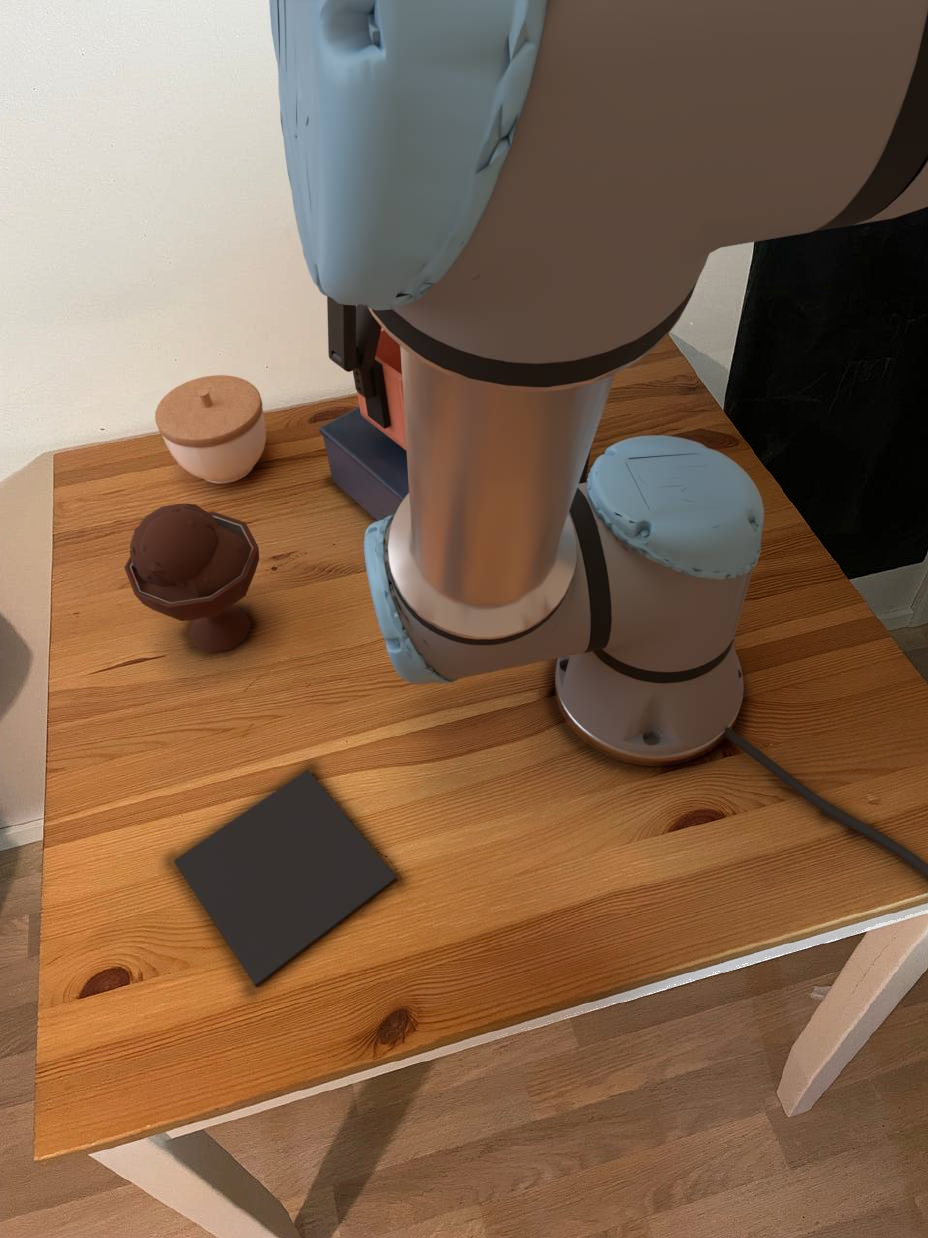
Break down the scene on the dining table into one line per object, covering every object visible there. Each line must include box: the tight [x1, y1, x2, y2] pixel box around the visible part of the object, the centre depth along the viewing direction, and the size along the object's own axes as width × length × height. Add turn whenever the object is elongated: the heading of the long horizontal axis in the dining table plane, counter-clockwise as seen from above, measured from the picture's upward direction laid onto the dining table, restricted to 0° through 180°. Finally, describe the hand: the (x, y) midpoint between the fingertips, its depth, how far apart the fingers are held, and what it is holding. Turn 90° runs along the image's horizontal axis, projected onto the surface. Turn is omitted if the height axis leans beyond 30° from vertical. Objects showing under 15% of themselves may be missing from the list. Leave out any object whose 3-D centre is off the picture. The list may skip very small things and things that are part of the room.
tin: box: [318, 405, 409, 522], centre depth 93 cm, size 14×14×7 cm
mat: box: [173, 769, 398, 987], centre depth 68 cm, size 12×12×1 cm
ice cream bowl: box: [123, 503, 260, 654], centre depth 78 cm, size 11×11×15 cm
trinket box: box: [154, 374, 267, 485], centre depth 96 cm, size 11×11×9 cm
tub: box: [356, 328, 407, 451], centre depth 86 cm, size 8×8×8 cm
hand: (416, 400), depth 87 cm, fingers closed on tub, 8 cm apart
